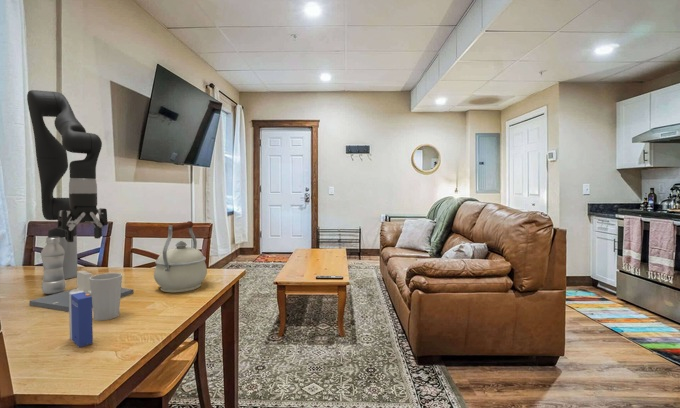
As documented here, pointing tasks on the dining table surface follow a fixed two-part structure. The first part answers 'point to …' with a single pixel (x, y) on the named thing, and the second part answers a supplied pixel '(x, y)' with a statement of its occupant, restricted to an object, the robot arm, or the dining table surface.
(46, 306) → the dial plate
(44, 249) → the plastic bottle
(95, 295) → the cup
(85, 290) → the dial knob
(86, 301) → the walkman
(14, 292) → the dining table surface
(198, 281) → the kettle
